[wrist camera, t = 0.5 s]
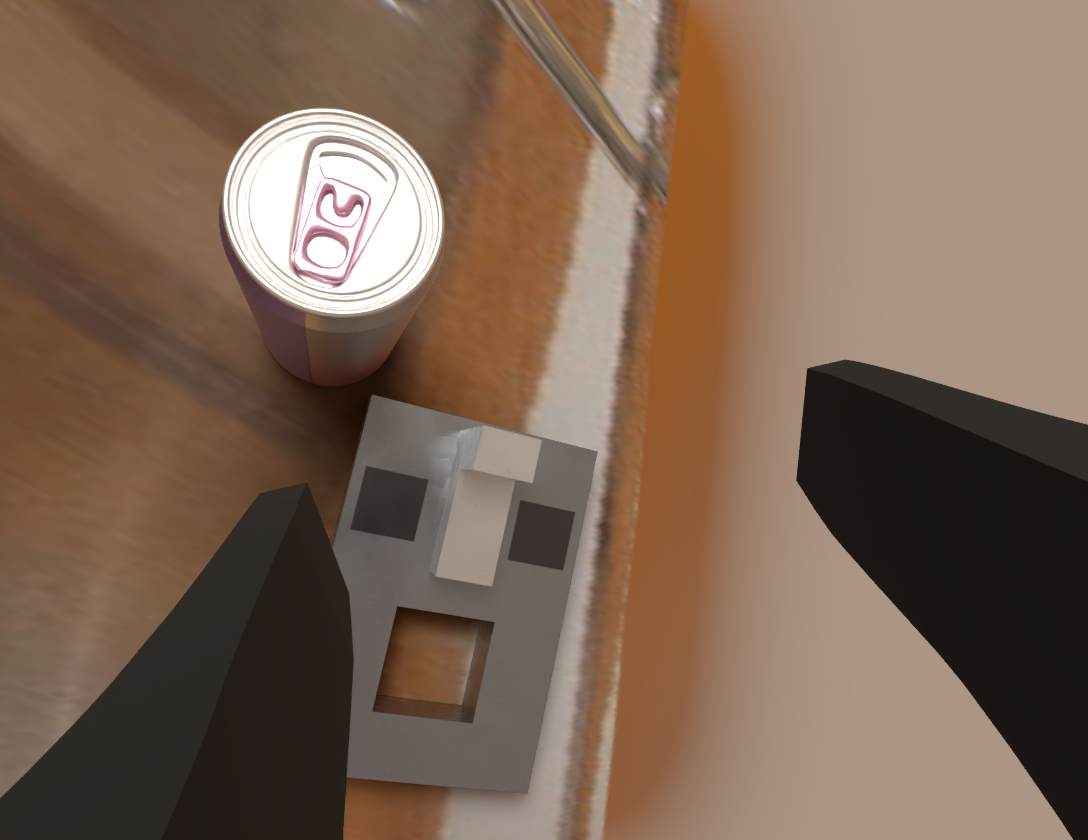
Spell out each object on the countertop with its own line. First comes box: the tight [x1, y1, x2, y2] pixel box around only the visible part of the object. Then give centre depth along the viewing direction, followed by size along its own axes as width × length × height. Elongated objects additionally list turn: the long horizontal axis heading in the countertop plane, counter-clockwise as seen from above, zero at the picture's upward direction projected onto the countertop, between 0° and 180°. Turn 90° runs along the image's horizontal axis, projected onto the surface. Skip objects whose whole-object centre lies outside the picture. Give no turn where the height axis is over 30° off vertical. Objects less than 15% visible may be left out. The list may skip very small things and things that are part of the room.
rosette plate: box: [331, 395, 597, 794], centre depth 32 cm, size 16×11×2 cm
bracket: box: [429, 425, 542, 587], centre depth 29 cm, size 6×2×4 cm, turn 168°
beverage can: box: [219, 108, 445, 386], centre depth 25 cm, size 6×6×15 cm
